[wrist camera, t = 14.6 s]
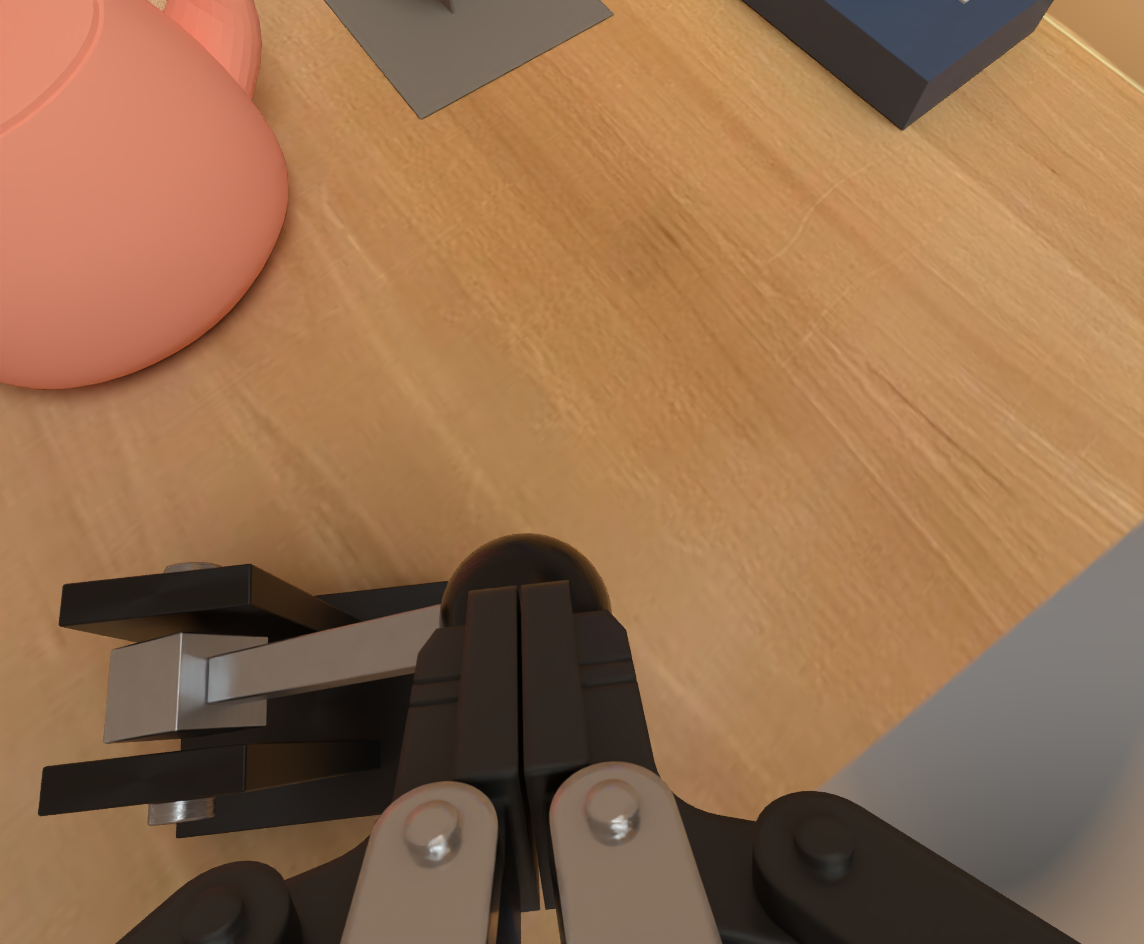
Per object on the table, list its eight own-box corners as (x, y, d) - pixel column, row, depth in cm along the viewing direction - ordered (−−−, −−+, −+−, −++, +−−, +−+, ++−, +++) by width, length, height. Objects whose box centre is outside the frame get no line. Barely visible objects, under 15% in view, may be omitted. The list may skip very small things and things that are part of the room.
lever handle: (629, 531, 15) (543, 500, 13) (652, 696, 14) (564, 700, 12) (213, 634, 21) (94, 627, 19) (207, 756, 20) (82, 768, 17)
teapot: (222, -5, 41) (63, -335, 28) (445, 160, 37) (375, -136, 25) (-194, 301, 35) (-632, 56, 22) (21, 533, 31) (-358, 397, 19)
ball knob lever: (453, 586, 31) (369, 489, 18) (466, 801, 28) (378, 854, 16) (202, 614, 30) (-51, 534, 18) (191, 834, 28) (-112, 913, 16)
